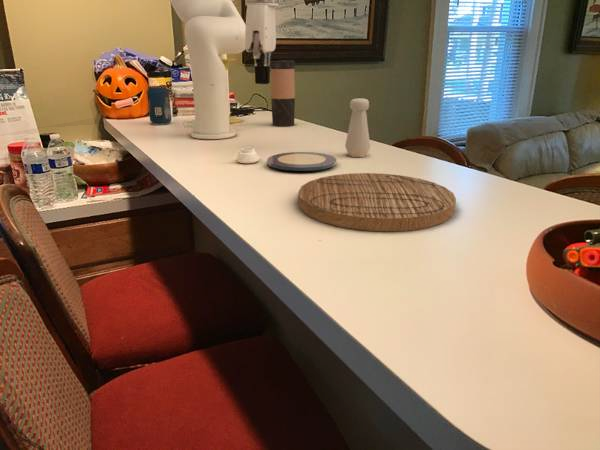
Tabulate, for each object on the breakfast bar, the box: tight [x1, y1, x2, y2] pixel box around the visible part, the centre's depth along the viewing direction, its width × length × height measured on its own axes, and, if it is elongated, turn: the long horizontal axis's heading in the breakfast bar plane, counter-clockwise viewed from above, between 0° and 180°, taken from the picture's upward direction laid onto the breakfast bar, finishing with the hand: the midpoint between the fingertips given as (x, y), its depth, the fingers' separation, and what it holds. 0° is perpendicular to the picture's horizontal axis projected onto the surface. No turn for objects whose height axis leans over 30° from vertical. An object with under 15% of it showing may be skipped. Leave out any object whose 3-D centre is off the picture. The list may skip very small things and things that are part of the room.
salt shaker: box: [345, 97, 371, 158], centre depth 109 cm, size 6×6×13 cm
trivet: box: [297, 172, 457, 232], centre depth 76 cm, size 25×25×2 cm
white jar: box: [235, 146, 260, 165], centre depth 104 cm, size 5×3×5 cm
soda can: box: [146, 85, 172, 126], centre depth 156 cm, size 7×7×12 cm
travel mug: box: [270, 59, 296, 127], centre depth 151 cm, size 8×8×20 cm
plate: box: [266, 151, 337, 172], centre depth 102 cm, size 15×15×1 cm
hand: (262, 83), depth 113 cm, fingers closed
